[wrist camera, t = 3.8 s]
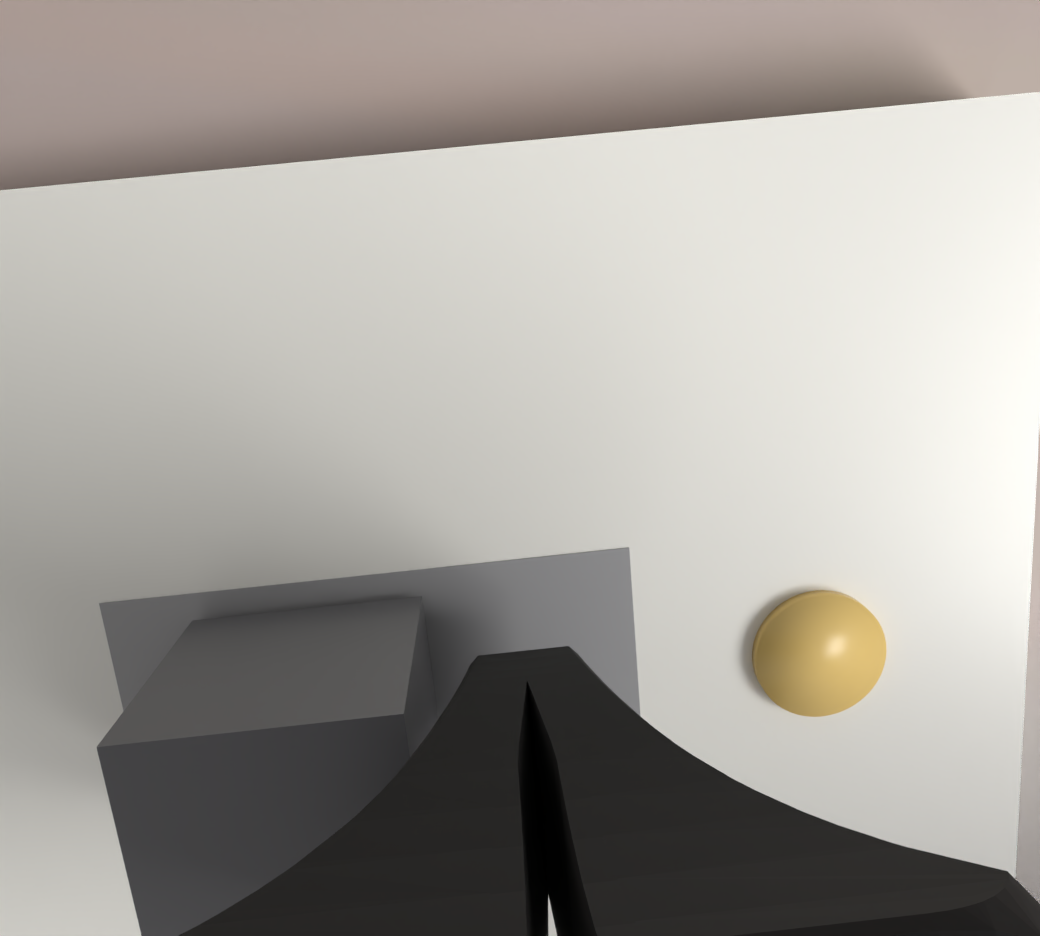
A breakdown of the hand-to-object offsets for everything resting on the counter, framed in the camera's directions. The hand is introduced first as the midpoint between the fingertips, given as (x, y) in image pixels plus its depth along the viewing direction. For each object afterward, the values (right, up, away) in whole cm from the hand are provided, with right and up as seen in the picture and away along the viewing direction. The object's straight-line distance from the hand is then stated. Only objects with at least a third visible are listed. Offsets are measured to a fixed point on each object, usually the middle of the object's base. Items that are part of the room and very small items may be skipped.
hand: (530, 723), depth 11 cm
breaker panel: (0, -2, +3) cm, 4 cm away
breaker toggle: (-3, 0, +1) cm, 3 cm away
